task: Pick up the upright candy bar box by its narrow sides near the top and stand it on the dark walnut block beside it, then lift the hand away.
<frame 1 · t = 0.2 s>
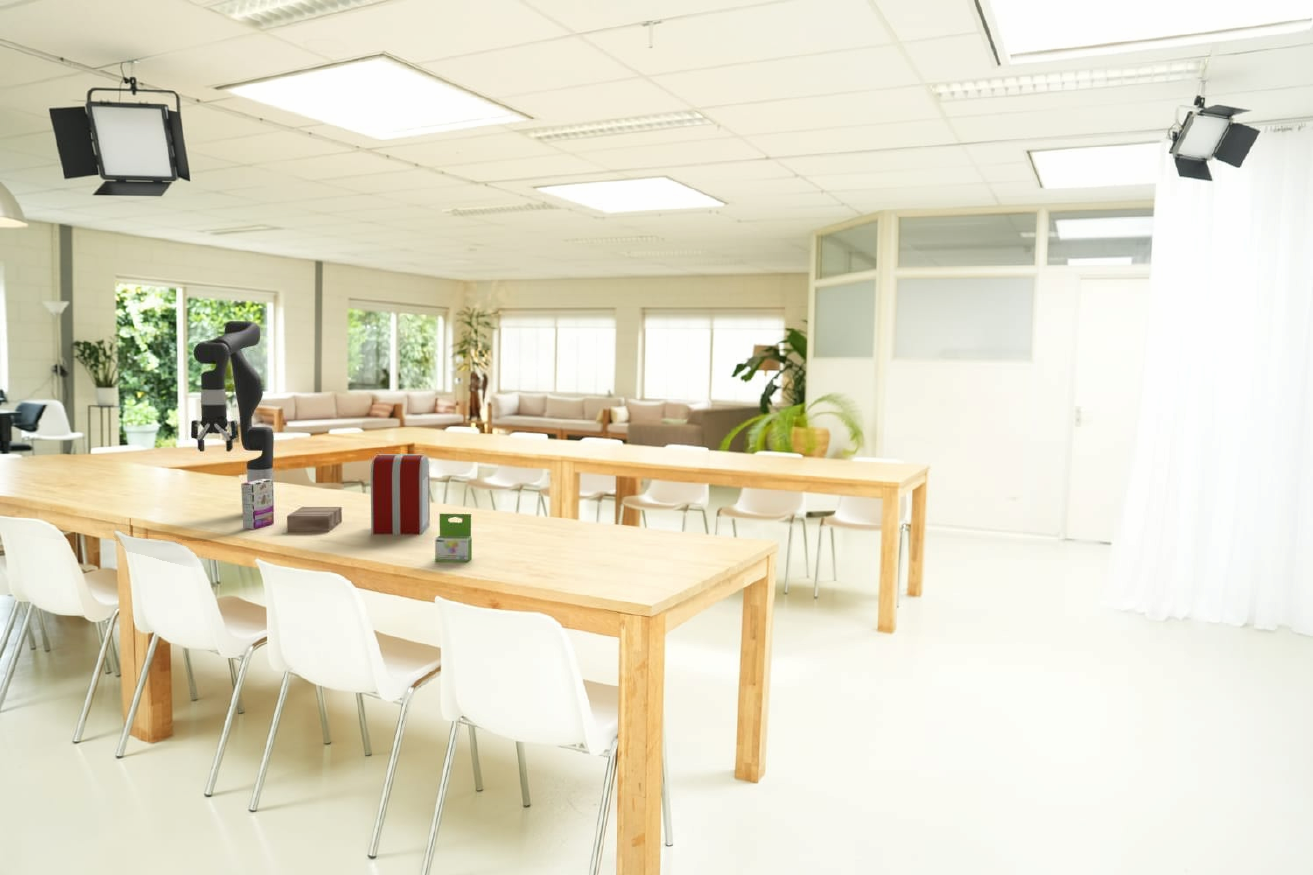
hand: (215, 451, 291), 29 cm above the table, tool pointing down, fingers open, 8 cm apart
red grey rounded block: (401, 530, 310), on the table
candy bar box: (258, 526, 311), on the table
ink box: (453, 560, 267), on the table
walnut block: (315, 527, 312), on the table
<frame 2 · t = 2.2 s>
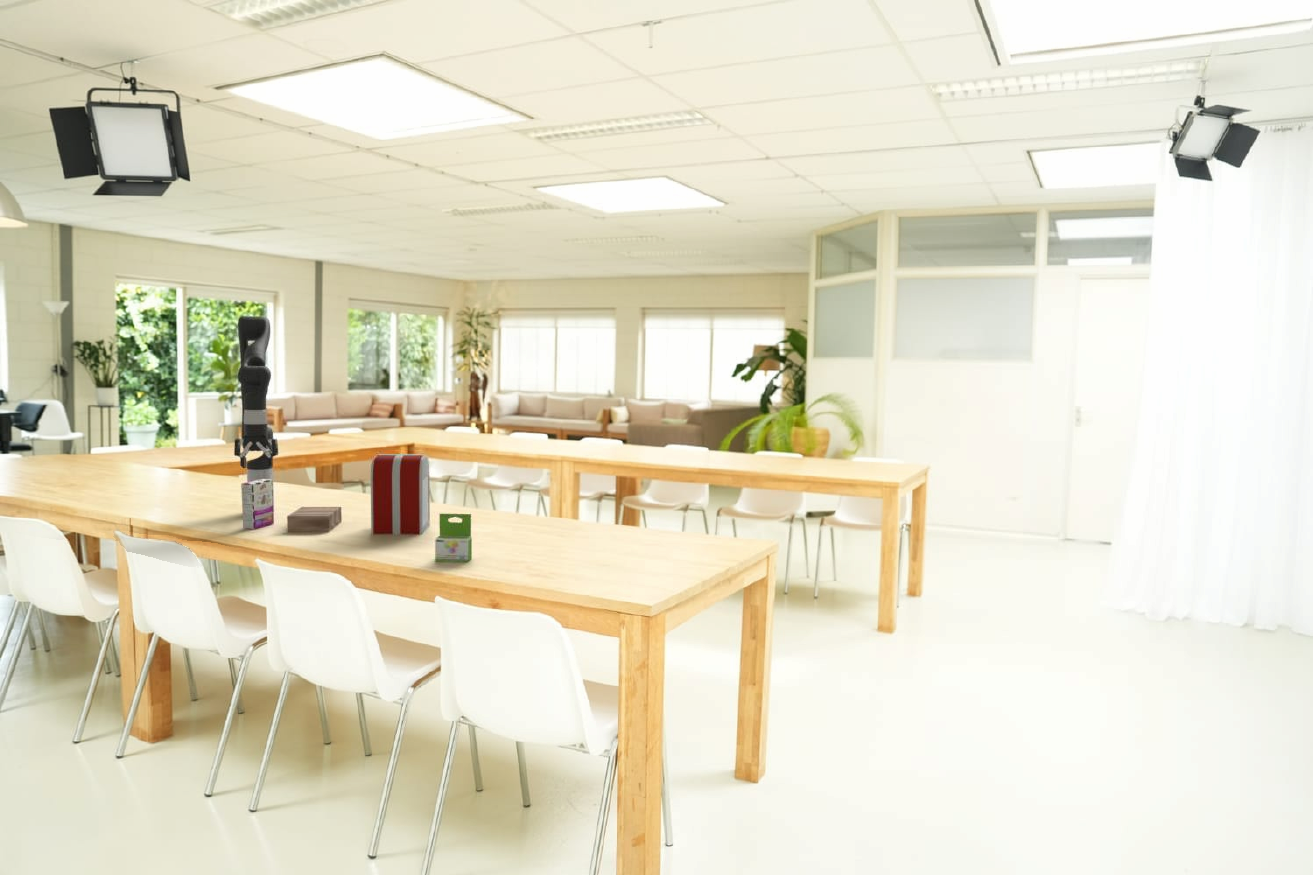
hand: (256, 467, 309), 21 cm above the table, tool pointing down, fingers open, 8 cm apart
nothing on the table moved.
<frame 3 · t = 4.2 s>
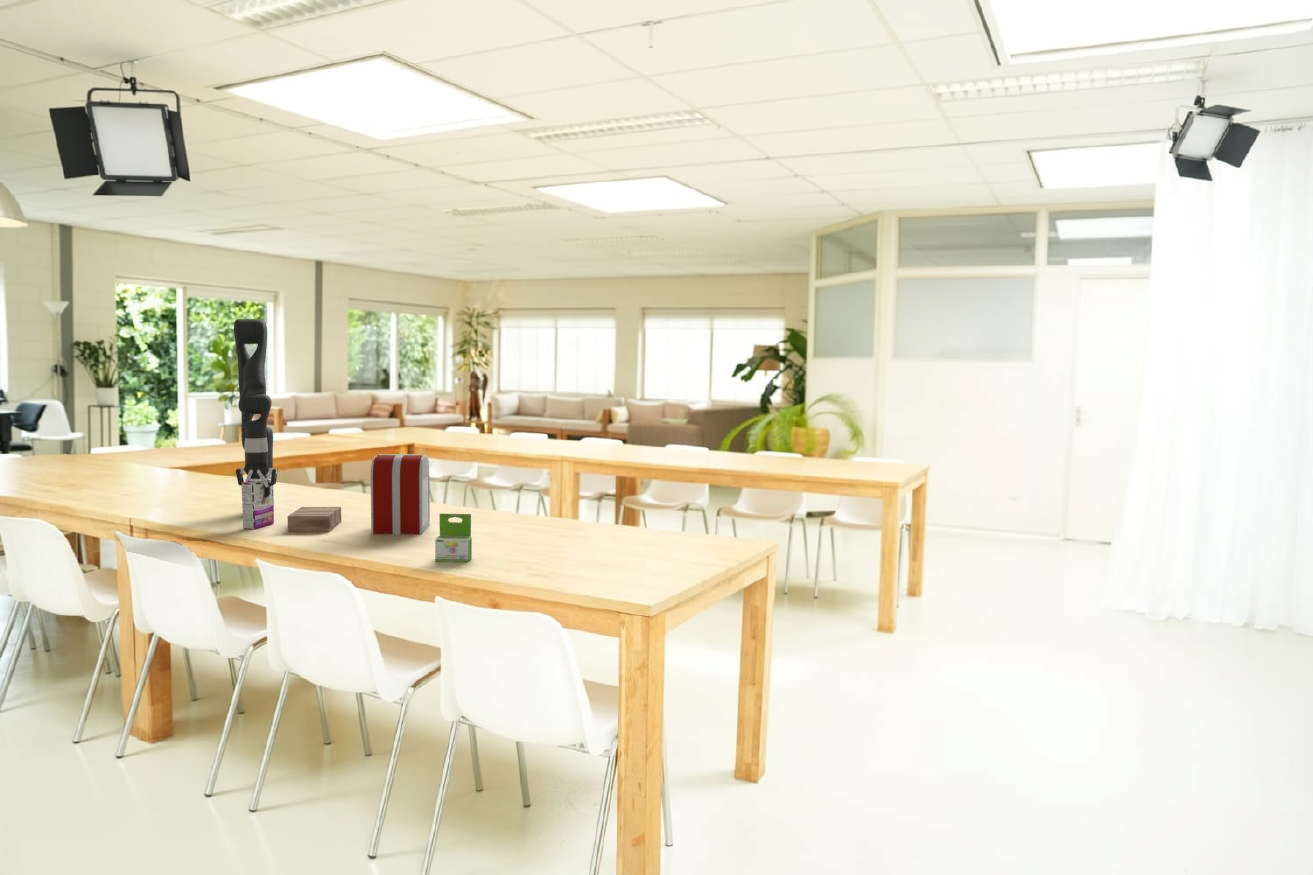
hand: (257, 497, 310), 11 cm above the table, tool pointing down, fingers closed on candy bar box, 6 cm apart
candy bar box: (258, 526, 311), on the table, touching gripper
everything else where it was.
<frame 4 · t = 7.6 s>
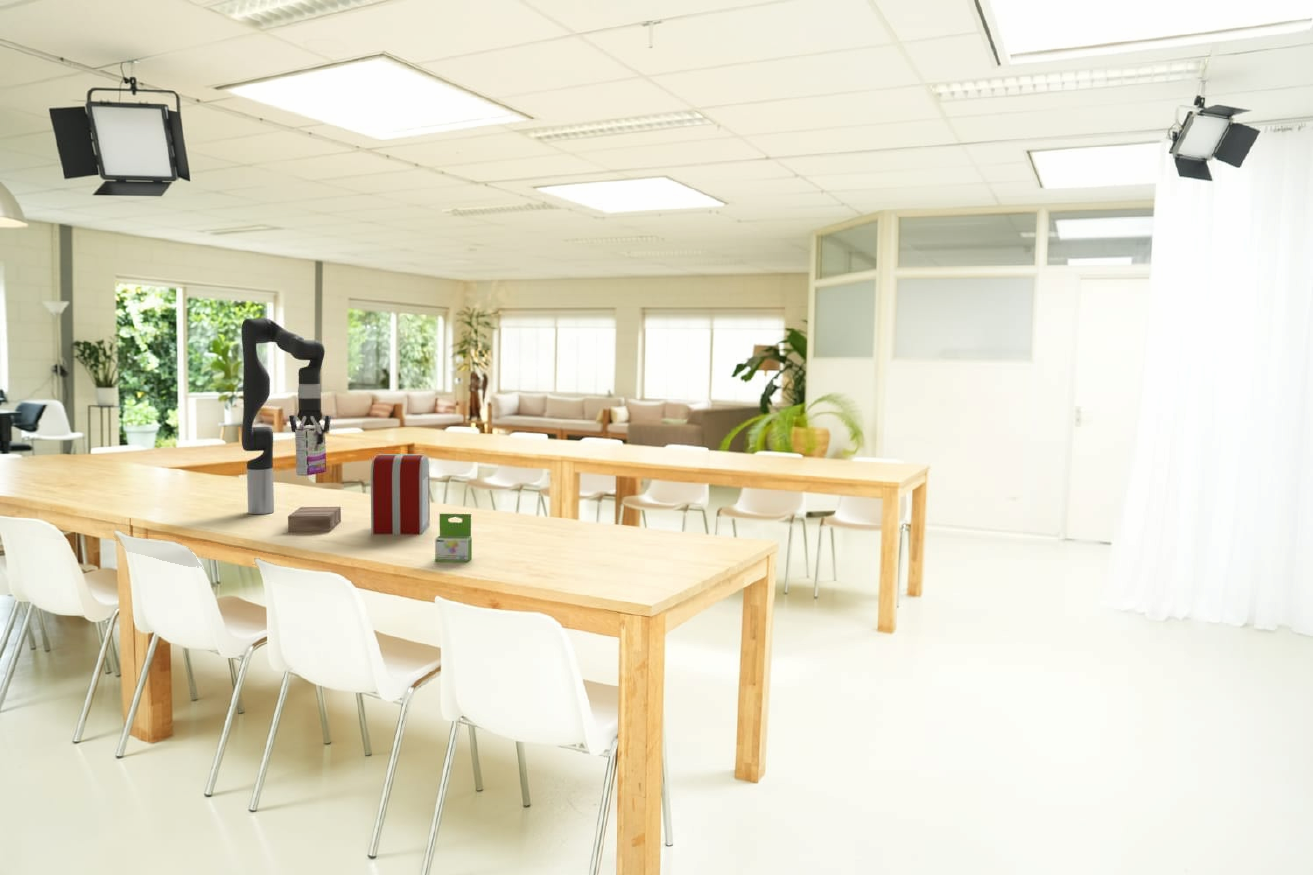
hand: (310, 444, 309), 30 cm above the table, tool pointing down, fingers closed on candy bar box, 6 cm apart
candy bar box: (311, 474, 309), point 19 cm above the table, touching gripper
everything else where it was.
when the fingers open (18 cm above the table, at t = 10.9 s): candy bar box drops 2 cm, resting on walnut block.
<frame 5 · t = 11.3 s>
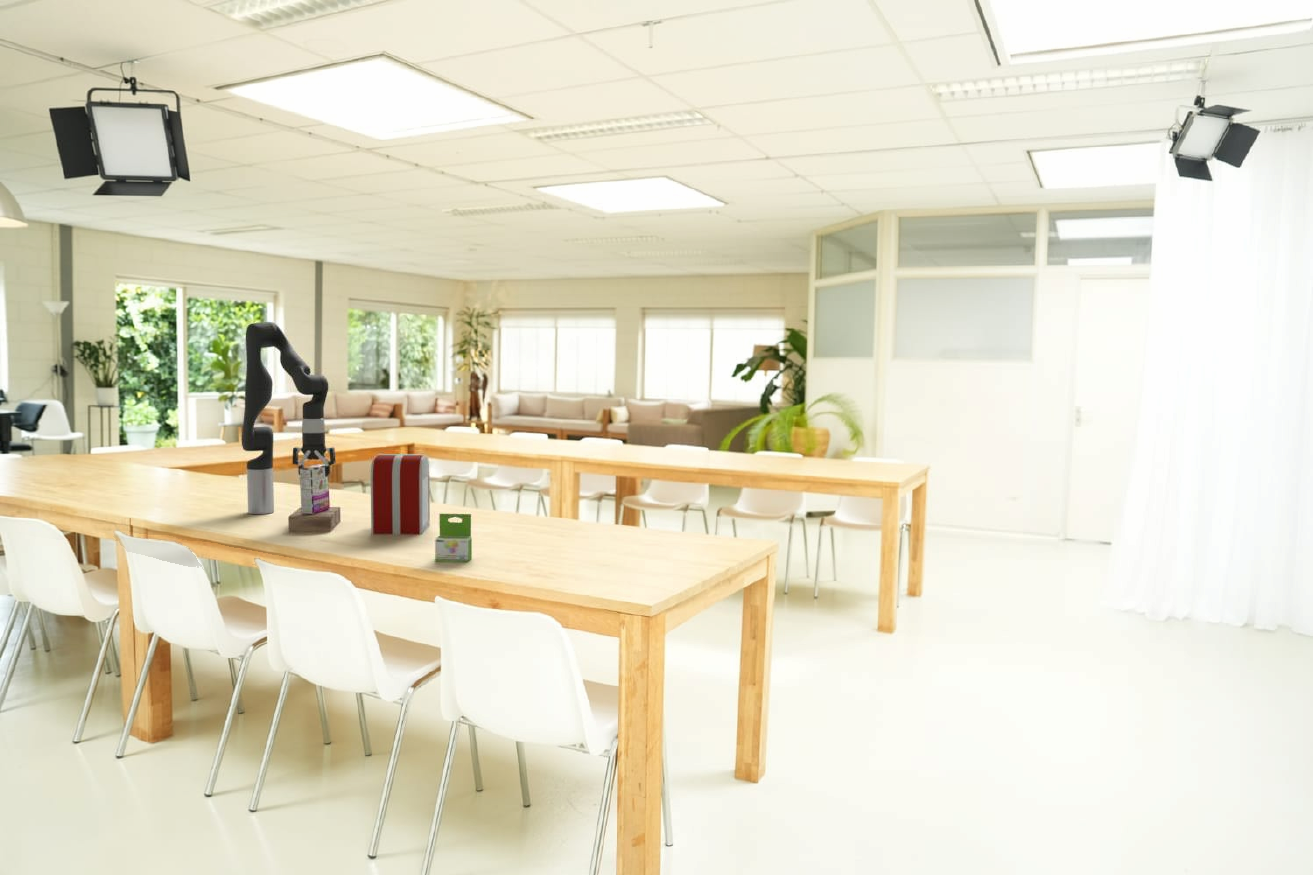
hand: (314, 476, 310), 18 cm above the table, tool pointing down, fingers open, 8 cm apart
candy bar box: (315, 512, 311), point 5 cm above the table, touching walnut block
walnut block: (315, 528, 312), on the table, touching candy bar box
everything else where it was.
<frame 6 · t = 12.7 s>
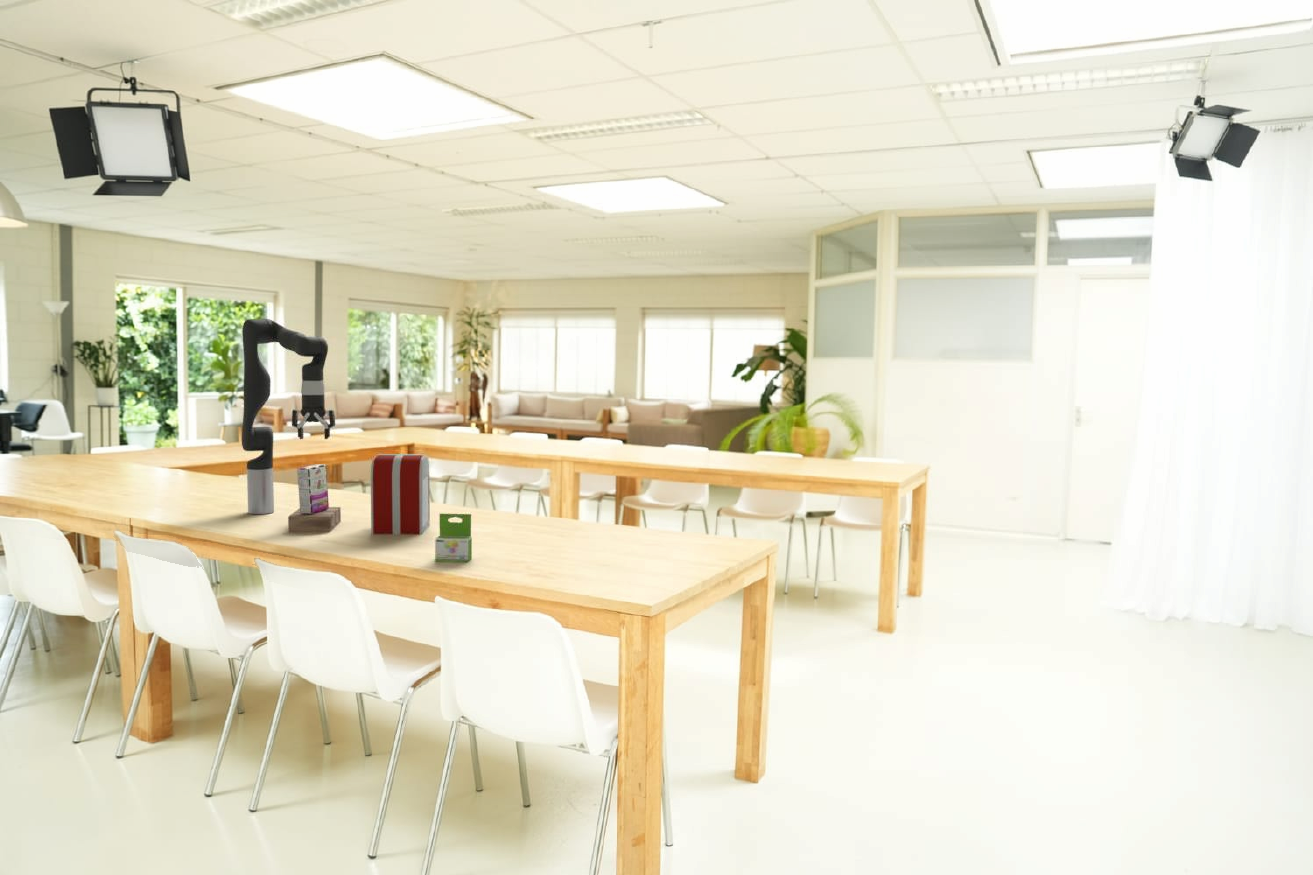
hand: (313, 438, 309), 32 cm above the table, tool pointing down, fingers open, 8 cm apart
nothing on the table moved.
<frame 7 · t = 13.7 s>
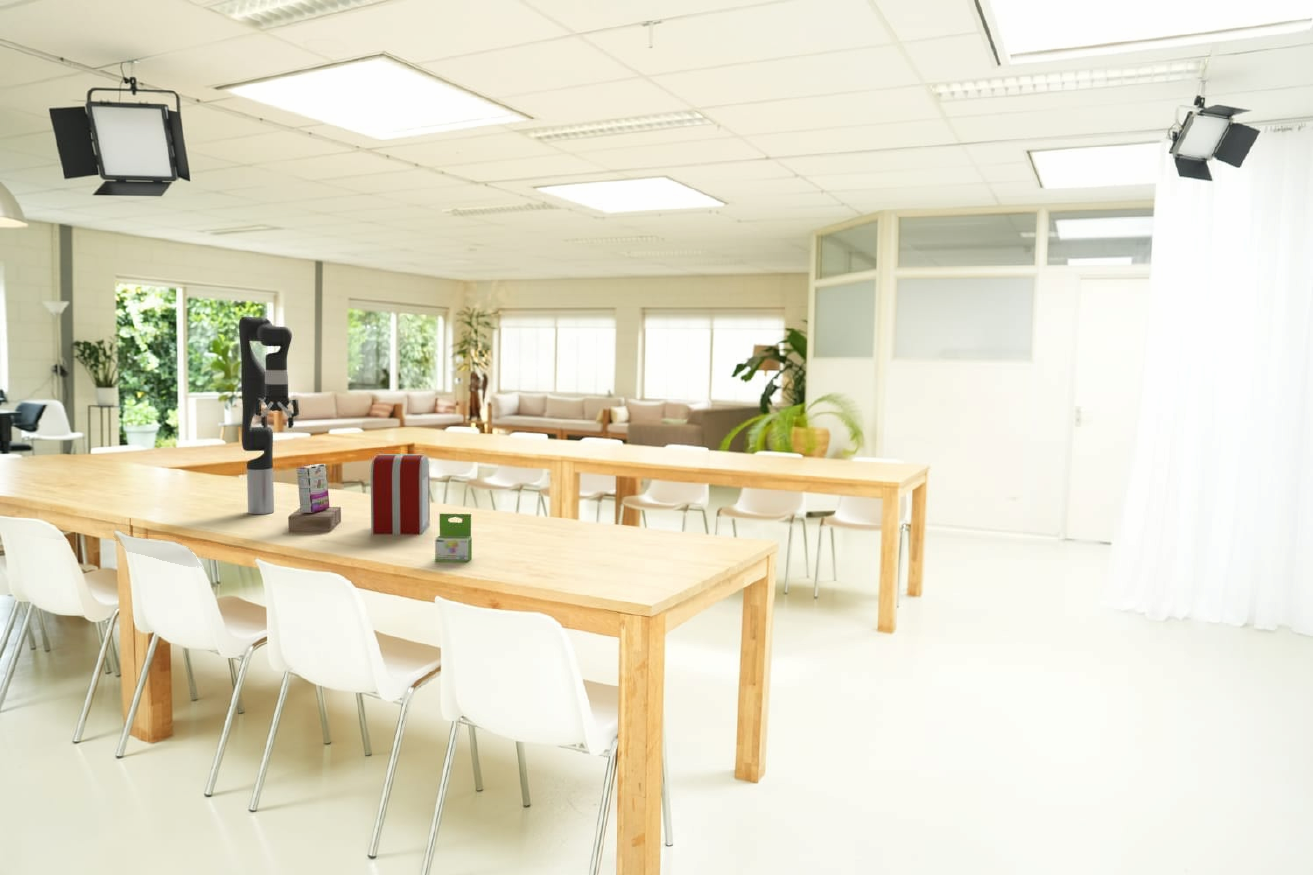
hand: (277, 427, 312), 35 cm above the table, tool pointing down, fingers open, 8 cm apart
nothing on the table moved.
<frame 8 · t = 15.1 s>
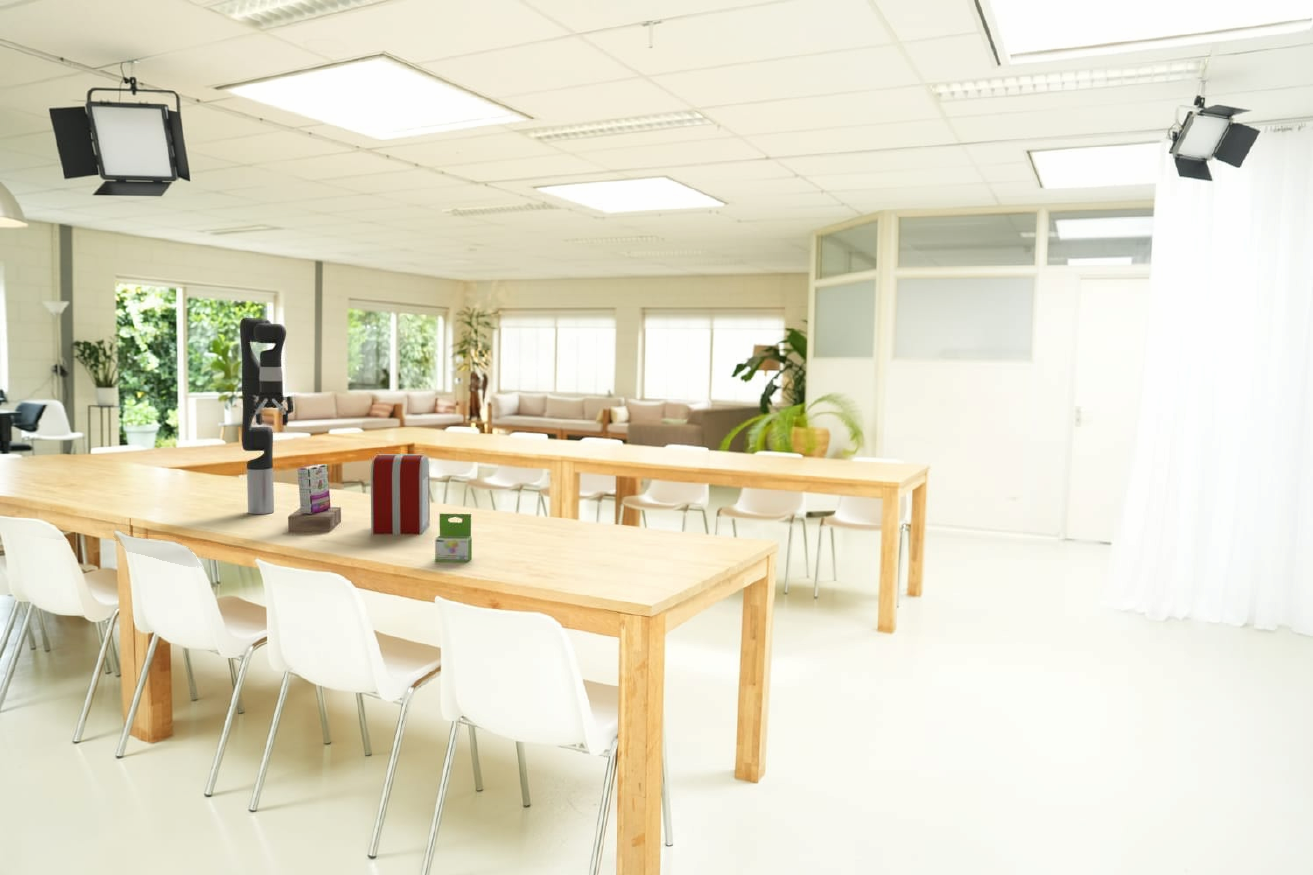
hand: (272, 424, 313), 36 cm above the table, tool pointing down, fingers open, 8 cm apart
nothing on the table moved.
at the end: candy bar box inside the target area on the walnut block (0.2 cm from its centre), point 6.0 cm above the walnut block's base; candy bar box tilted 3°; the gripper is holding nothing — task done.
